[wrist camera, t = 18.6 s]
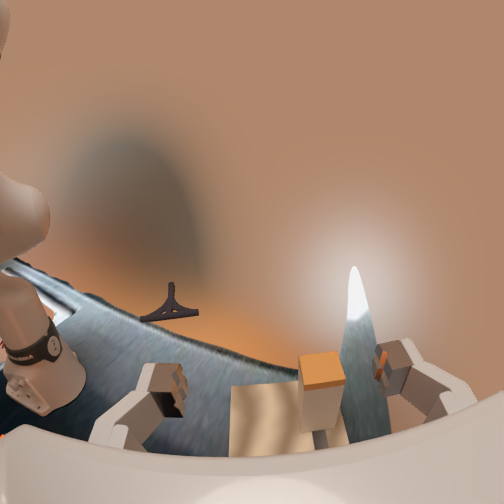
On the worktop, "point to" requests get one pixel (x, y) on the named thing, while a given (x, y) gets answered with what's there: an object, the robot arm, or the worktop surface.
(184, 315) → the bracket
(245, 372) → the worktop surface
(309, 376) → the orange-capped beige carton
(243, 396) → the subfloor panel
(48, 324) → the robot arm
